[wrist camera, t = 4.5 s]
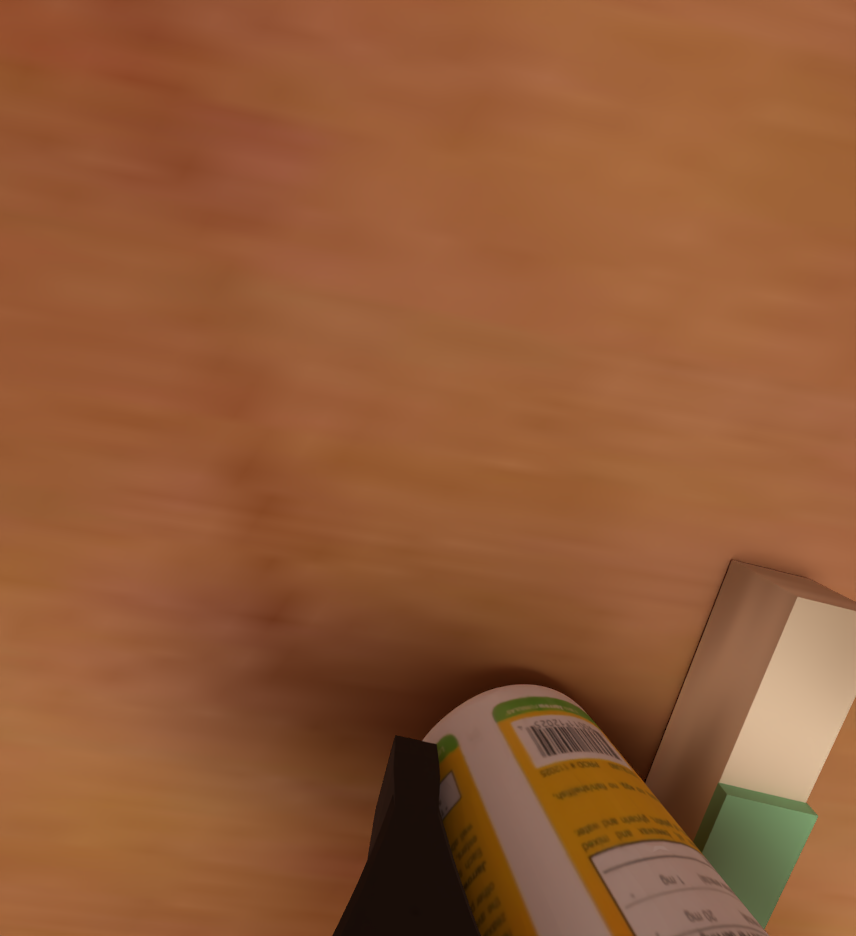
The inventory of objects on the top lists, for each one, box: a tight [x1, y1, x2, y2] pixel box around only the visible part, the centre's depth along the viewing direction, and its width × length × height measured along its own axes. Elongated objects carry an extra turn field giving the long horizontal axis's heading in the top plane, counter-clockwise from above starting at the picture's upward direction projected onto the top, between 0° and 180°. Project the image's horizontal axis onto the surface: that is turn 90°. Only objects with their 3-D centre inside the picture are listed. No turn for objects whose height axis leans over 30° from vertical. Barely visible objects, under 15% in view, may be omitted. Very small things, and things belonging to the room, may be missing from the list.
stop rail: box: [645, 560, 856, 929], centre depth 11 cm, size 14×2×2 cm, turn 166°
